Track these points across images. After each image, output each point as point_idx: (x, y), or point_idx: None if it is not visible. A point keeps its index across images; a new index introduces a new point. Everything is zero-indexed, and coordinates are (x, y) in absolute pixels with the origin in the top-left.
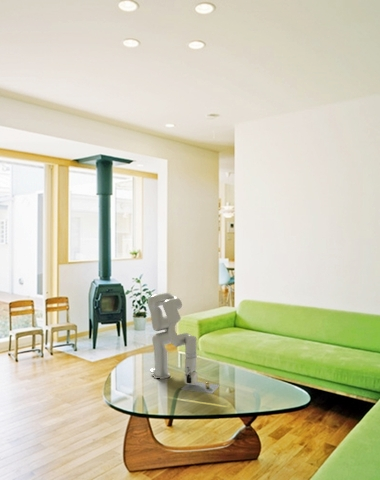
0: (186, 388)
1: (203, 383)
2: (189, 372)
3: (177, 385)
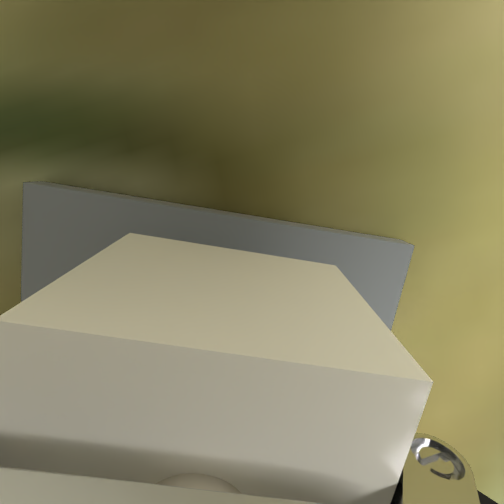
0: None
1: None
2: (267, 453)
3: (275, 49)
